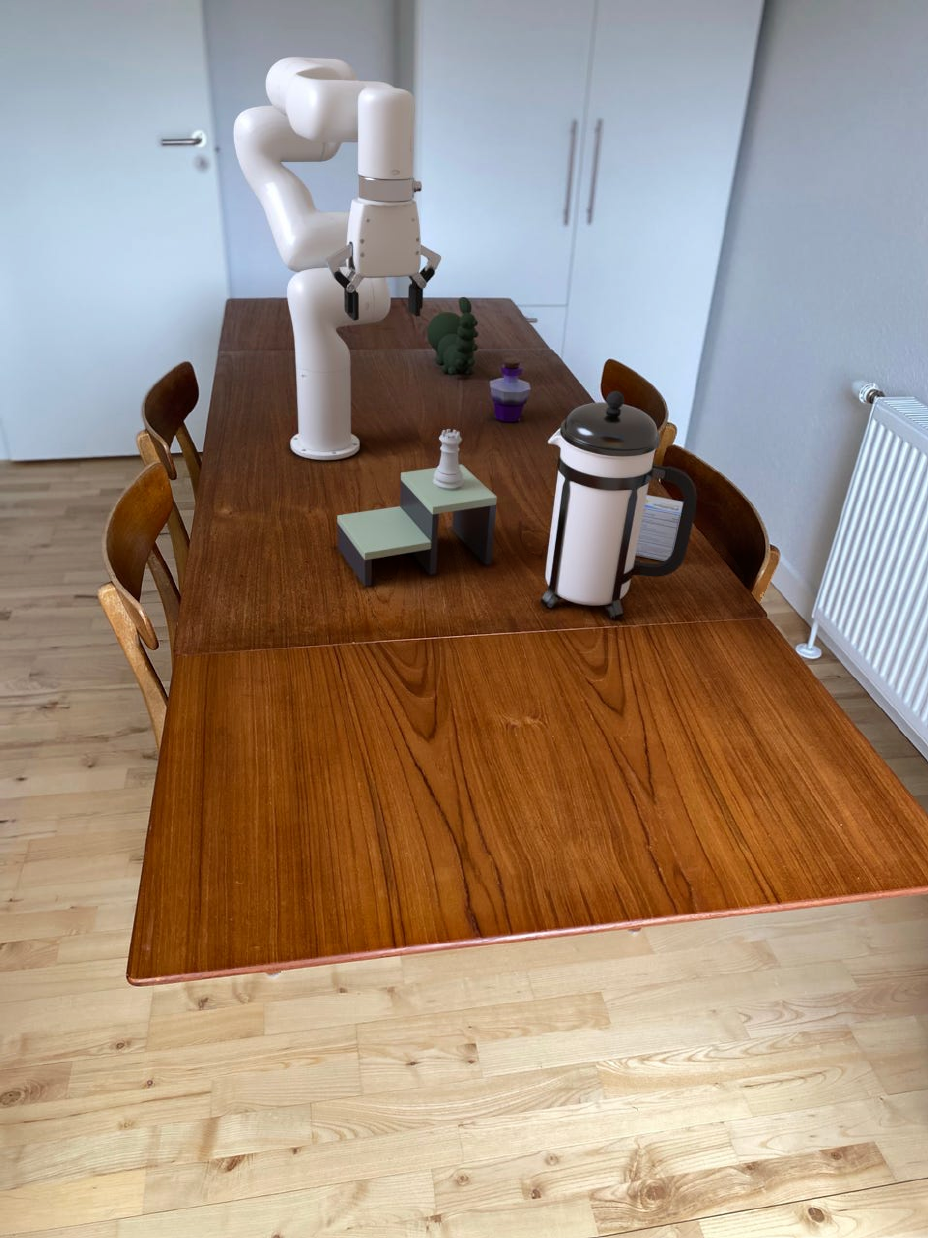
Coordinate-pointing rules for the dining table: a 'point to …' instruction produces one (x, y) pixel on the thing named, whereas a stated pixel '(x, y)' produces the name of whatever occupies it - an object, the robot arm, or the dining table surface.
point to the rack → (419, 523)
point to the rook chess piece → (449, 462)
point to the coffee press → (607, 505)
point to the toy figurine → (454, 339)
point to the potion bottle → (509, 392)
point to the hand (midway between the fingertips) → (383, 315)
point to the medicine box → (658, 528)
